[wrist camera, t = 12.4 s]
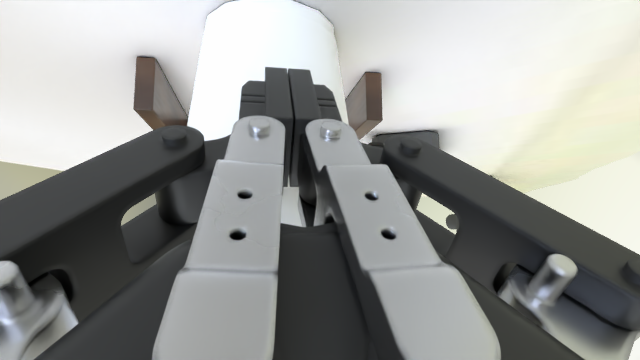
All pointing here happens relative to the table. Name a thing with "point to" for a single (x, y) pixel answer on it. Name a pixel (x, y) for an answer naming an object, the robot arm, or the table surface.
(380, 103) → the cup bay
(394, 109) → the table surface
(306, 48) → the foam cup
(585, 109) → the table surface
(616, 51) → the table surface
